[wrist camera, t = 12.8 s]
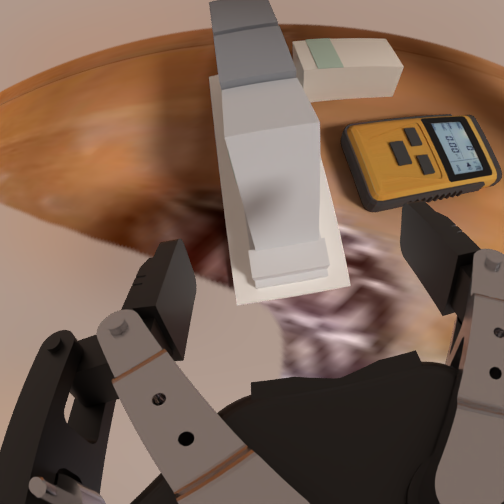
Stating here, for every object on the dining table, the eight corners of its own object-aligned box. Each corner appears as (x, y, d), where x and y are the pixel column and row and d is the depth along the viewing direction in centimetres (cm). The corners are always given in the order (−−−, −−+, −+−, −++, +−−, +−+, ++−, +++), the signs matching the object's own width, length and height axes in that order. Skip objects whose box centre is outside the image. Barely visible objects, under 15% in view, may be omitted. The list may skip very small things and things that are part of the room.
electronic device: (335, 139, 28) (339, 119, 24) (459, 124, 26) (471, 107, 23) (364, 220, 26) (373, 206, 22) (491, 192, 24) (508, 179, 21)
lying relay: (377, 69, 29) (385, 38, 24) (392, 97, 28) (404, 66, 23) (293, 74, 29) (292, 40, 24) (302, 104, 28) (303, 69, 23)
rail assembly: (290, 66, 30) (286, -19, 18) (349, 286, 24) (397, 257, 13) (210, 80, 30) (182, -1, 19) (238, 305, 25) (196, 292, 13)
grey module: (304, 189, 24) (297, 77, 16) (318, 240, 22) (319, 122, 13) (247, 198, 25) (219, 90, 16) (254, 251, 22) (222, 137, 14)
